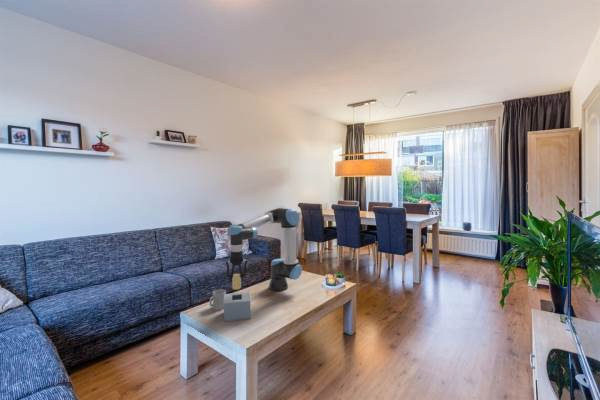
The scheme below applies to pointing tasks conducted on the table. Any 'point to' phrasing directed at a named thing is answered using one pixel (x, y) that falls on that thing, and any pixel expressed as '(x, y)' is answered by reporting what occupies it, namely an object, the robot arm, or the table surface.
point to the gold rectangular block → (236, 281)
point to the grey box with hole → (237, 306)
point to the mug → (218, 299)
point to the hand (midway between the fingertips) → (236, 287)
